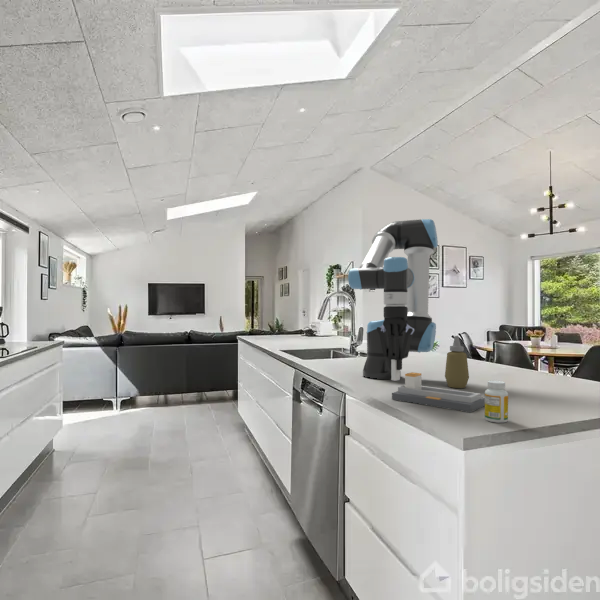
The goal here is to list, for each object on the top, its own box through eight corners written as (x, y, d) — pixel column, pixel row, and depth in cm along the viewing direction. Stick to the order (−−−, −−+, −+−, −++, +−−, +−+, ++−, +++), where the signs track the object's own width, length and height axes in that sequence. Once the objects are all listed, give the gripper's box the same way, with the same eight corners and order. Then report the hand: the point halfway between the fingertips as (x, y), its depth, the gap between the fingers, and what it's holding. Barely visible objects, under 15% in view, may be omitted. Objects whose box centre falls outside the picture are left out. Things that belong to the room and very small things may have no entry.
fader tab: (405, 391, 136) (405, 373, 136) (412, 389, 139) (412, 372, 139) (414, 392, 134) (414, 375, 134) (421, 390, 137) (421, 373, 137)
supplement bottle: (491, 423, 107) (491, 383, 107) (480, 417, 112) (480, 380, 113) (512, 422, 108) (512, 383, 108) (500, 417, 113) (500, 379, 113)
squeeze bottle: (472, 389, 151) (472, 336, 152) (448, 389, 152) (448, 336, 152) (464, 385, 160) (464, 335, 160) (441, 385, 160) (441, 335, 160)
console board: (391, 399, 134) (391, 387, 135) (411, 393, 143) (411, 383, 143) (470, 412, 118) (470, 399, 118) (486, 404, 127) (486, 392, 127)
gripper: (371, 305, 142) (371, 379, 142) (408, 305, 134) (408, 383, 133) (384, 305, 148) (384, 376, 147) (419, 305, 139) (420, 380, 139)
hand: (395, 379), depth 140 cm, fingers closed
